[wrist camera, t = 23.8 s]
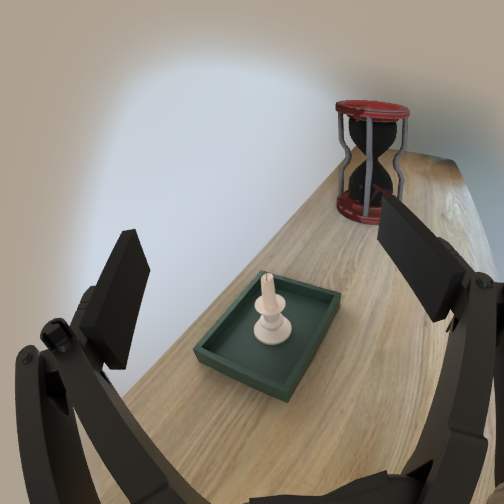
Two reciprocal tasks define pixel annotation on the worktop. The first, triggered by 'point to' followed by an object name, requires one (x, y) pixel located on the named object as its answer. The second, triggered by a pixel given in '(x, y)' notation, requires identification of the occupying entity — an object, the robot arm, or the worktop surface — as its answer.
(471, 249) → the worktop surface
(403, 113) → the hourglass
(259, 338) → the candle
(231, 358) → the tray
